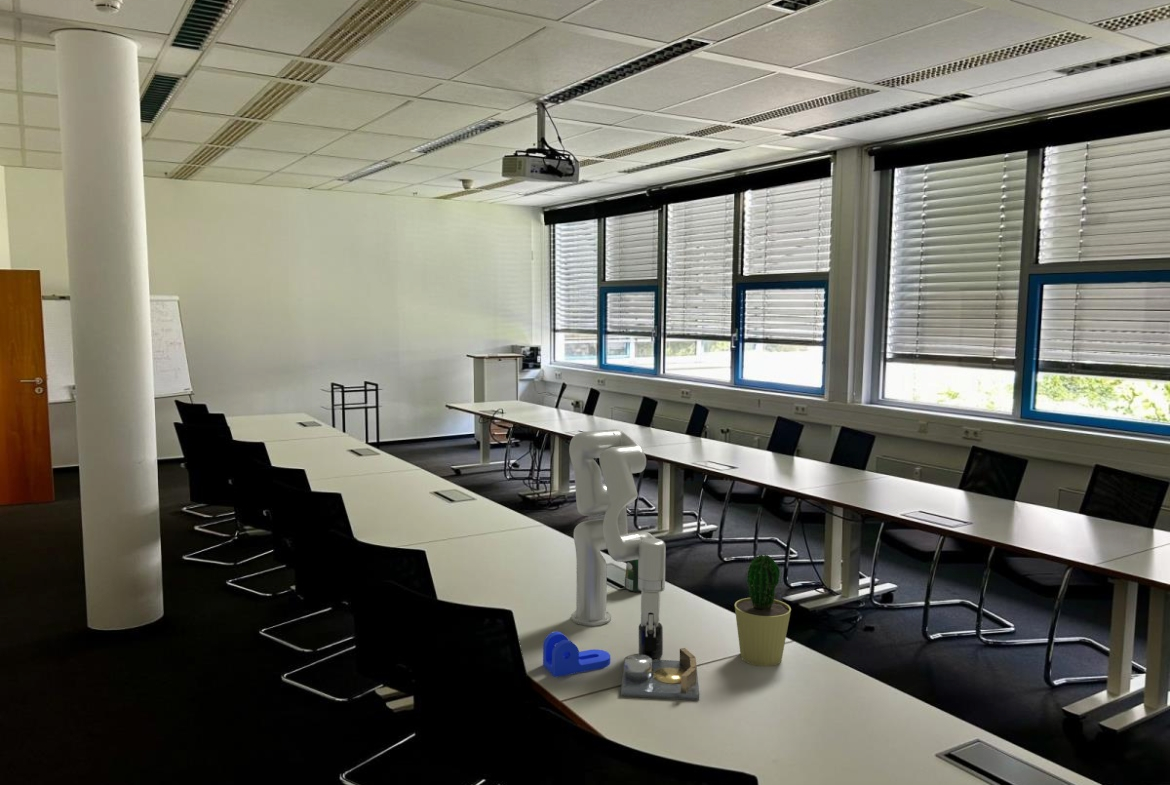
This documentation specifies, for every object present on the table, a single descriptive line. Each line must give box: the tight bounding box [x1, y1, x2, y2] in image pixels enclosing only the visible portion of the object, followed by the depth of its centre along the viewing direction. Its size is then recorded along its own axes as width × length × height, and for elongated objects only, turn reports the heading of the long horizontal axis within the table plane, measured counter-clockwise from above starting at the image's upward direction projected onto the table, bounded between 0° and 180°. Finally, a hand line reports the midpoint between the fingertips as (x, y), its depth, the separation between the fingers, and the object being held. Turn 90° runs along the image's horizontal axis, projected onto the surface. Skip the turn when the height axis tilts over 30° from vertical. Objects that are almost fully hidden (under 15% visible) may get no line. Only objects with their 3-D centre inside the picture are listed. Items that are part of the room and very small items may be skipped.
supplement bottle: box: [638, 613, 664, 660], centre depth 228 cm, size 7×7×12 cm
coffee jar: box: [624, 559, 642, 593], centre depth 284 cm, size 10×8×19 cm
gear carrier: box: [620, 647, 700, 701], centre depth 212 cm, size 20×20×6 cm
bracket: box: [542, 631, 611, 678], centre depth 221 cm, size 18×8×9 cm, turn 115°
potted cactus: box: [734, 554, 792, 667], centre depth 226 cm, size 15×15×30 cm
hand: (650, 644), depth 228 cm, fingers closed on supplement bottle, 6 cm apart
